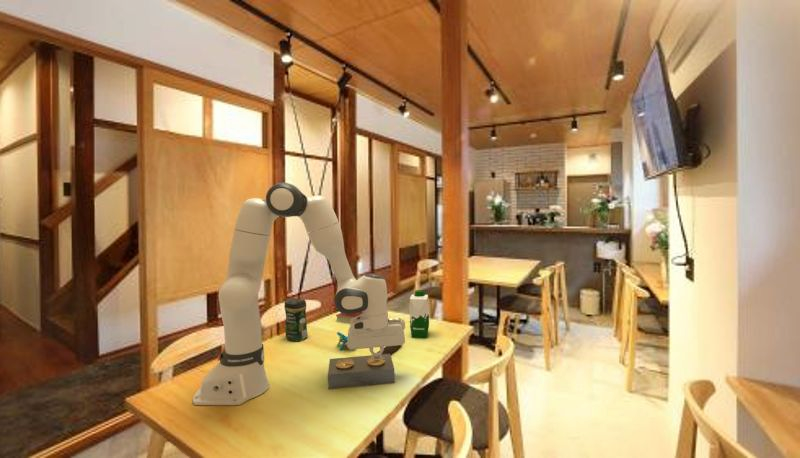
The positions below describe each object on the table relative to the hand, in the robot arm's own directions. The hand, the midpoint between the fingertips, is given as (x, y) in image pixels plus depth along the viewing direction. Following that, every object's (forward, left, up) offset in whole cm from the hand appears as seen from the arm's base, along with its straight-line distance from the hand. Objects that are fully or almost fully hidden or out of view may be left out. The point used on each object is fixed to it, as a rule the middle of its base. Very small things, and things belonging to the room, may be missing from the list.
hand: (376, 358), depth 124 cm
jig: (-6, 0, -6) cm, 8 cm away
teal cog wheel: (-11, +27, -7) cm, 30 cm away
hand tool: (+6, +18, -7) cm, 20 cm away
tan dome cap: (0, 0, -5) cm, 5 cm away
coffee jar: (-34, +43, -7) cm, 55 cm away
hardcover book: (-5, +61, -7) cm, 62 cm away
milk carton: (+22, +35, -7) cm, 42 cm away
